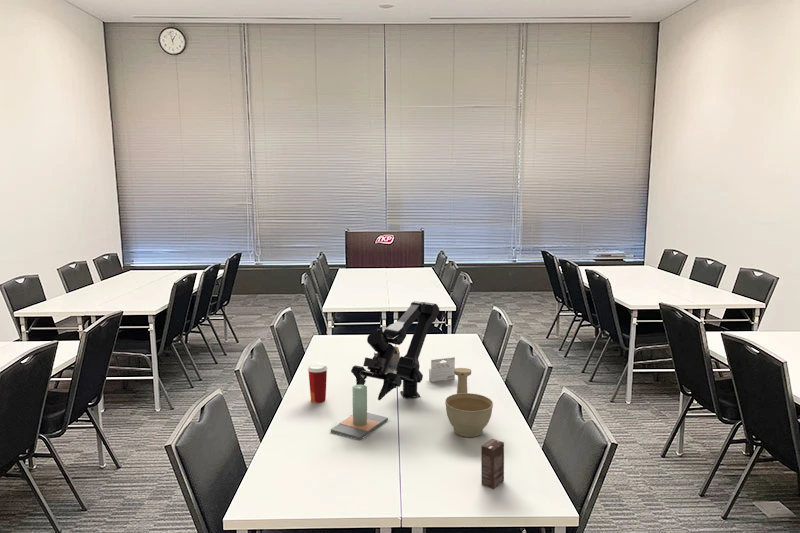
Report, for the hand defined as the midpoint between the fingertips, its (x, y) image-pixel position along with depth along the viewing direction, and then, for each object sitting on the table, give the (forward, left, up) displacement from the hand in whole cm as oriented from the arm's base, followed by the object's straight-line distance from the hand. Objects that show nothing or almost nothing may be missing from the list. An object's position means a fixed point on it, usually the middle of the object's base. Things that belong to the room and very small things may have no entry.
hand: (367, 397), depth 209 cm
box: (+51, +25, -9) cm, 57 cm away
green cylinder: (+4, -4, -8) cm, 9 cm away
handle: (-1, +36, -9) cm, 38 cm away
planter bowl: (+18, +31, -9) cm, 37 cm away
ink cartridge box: (-32, +39, -9) cm, 52 cm away
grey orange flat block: (+4, -4, -9) cm, 10 cm away
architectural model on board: (-53, +20, -9) cm, 58 cm away
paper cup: (-23, -15, -9) cm, 29 cm away
